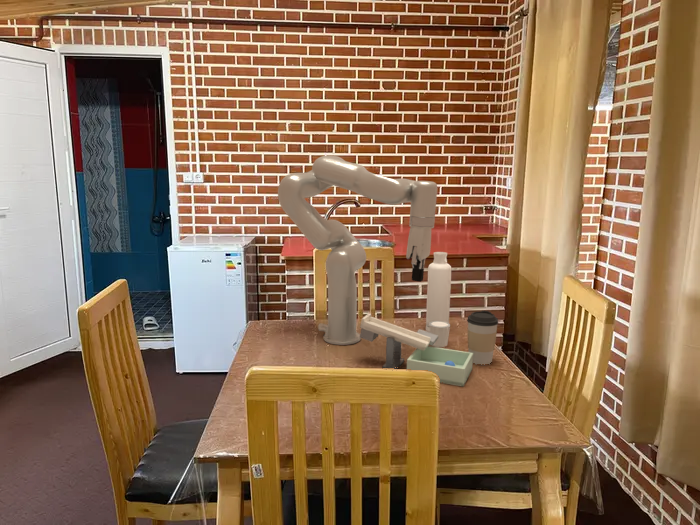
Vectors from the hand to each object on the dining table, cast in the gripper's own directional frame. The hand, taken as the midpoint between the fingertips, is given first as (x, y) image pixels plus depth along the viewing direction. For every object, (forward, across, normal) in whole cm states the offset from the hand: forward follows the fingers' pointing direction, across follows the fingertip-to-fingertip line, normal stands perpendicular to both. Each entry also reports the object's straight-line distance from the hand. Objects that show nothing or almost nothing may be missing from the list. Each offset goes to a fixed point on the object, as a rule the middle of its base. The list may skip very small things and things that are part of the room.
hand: (417, 280), depth 161 cm
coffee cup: (+22, -1, +22) cm, 31 cm away
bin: (+22, +14, +13) cm, 29 cm away
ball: (+20, +14, +16) cm, 29 cm away
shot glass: (+23, -9, +6) cm, 25 cm away
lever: (+17, +11, -1) cm, 20 cm away
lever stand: (+23, +14, -1) cm, 27 cm away
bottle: (+23, -23, +2) cm, 33 cm away
